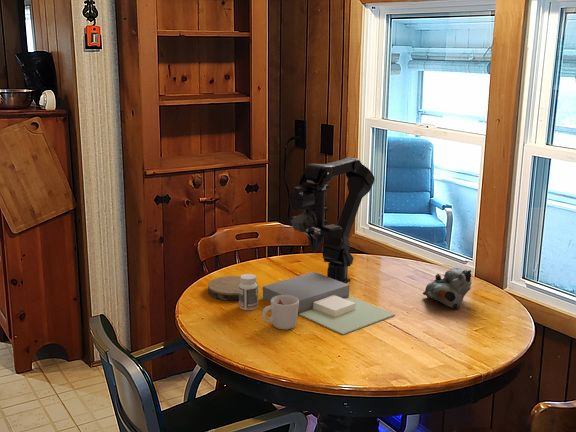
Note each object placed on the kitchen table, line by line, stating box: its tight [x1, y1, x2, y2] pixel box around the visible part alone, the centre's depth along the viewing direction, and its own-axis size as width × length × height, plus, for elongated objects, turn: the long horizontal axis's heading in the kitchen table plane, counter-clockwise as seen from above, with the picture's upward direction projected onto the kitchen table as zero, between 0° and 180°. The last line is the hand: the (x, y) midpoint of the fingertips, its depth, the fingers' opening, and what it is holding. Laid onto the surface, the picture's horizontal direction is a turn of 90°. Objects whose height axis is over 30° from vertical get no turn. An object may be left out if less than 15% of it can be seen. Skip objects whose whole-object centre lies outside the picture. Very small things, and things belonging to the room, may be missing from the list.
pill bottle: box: [238, 273, 259, 311], centre depth 208 cm, size 6×6×10 cm
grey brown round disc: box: [207, 275, 259, 303], centre depth 221 cm, size 16×16×3 cm
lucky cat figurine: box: [422, 267, 473, 310], centre depth 214 cm, size 15×12×14 cm
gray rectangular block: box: [262, 271, 350, 314], centre depth 217 cm, size 22×16×4 cm
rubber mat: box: [299, 296, 396, 336], centre depth 205 cm, size 22×18×1 cm
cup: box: [261, 295, 299, 331], centre depth 194 cm, size 11×8×8 cm
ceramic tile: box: [313, 295, 356, 317], centre depth 208 cm, size 9×9×2 cm
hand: (314, 252), depth 220 cm, fingers closed
